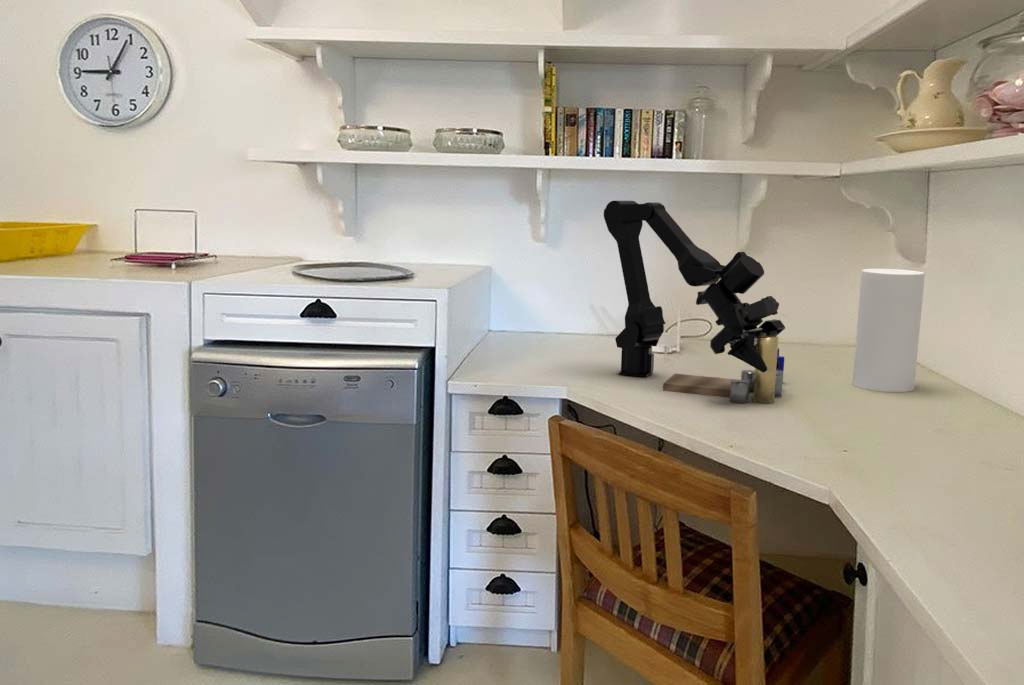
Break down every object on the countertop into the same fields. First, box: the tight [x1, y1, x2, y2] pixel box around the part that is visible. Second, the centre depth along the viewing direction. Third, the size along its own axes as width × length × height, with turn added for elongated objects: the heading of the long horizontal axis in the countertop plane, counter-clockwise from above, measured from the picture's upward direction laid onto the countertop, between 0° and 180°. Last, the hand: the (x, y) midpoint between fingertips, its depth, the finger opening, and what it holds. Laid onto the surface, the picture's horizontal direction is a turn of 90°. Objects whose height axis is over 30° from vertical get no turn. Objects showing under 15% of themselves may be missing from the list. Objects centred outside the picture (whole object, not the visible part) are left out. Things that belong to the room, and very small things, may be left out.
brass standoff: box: [752, 335, 779, 404], centre depth 183 cm, size 4×4×13 cm
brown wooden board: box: [662, 373, 739, 398], centre depth 194 cm, size 14×11×2 cm
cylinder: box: [852, 268, 926, 393], centre depth 198 cm, size 12×12×25 cm
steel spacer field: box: [729, 369, 784, 404], centre depth 189 cm, size 9×18×4 cm, turn 158°
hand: (771, 369), depth 182 cm, fingers closed on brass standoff, 4 cm apart
